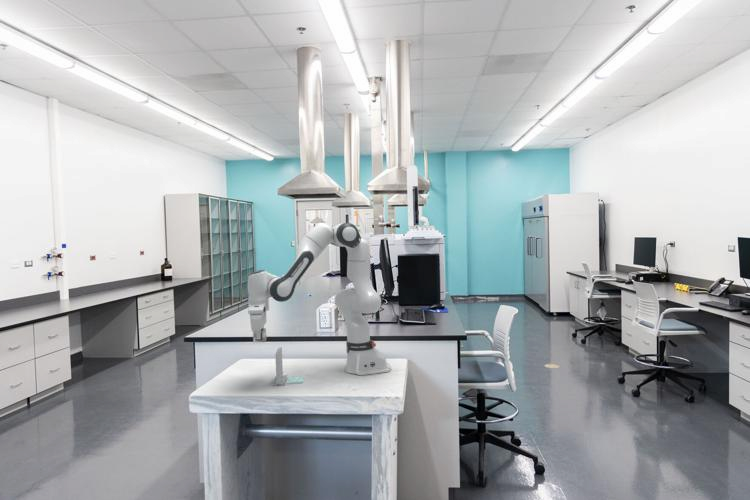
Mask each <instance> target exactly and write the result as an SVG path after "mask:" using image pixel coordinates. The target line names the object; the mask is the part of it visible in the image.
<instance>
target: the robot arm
mask: <svg viewBox="0 0 750 500" xmlns="http://www.w3.org/2000/svg"><path fill="white" fill-rule="evenodd" d="M330 244H331V245H333V246H334V247H342V248H344V247H345V249H346V252H347V260H346V261H347V262H346V265H347V266H346V277H347V279H348V280H349V281H350V282H351V283H352V285H353V288H354V289H353V288H352V289H351V288H346V289H345V288H344V289H340V290H338V291H337V292H336V294H335V296H334V297H335V298H334V304H335V306H336V308H337V309H338V310H339V311H340V312H341V314H342V317H343V319H344V322H345V325H346V343H345V346H346V353H347V354H346V363H345V368H344V372H346V373H347V374H348V373H349V374H353V375H354V374H355V375H357V376H366V375H367V376H368V375H375V374H381V373H389V372H391V371H392V366H391V363H388V362H387V359H386V356H385V355H384V354H383V352H381V351H380V350H379V349H377V348H375V347H376V345H377V344H376V343H375V341H373V340H372V339H371V336H370V335H371V334H370V333H371V332H370V331H371V330H370V327H371V326H370V324H369V322H368V321H367V320H366V319H365V317H364V316H363V314H365V315H366V314H367V315H368V314H375V313H377V312H378V311H379V310H380V309H381V307H382V299H381V295H380V294H379V293H378V292H377V291H376V290H375V289H374V286H373V283H372V280H371V250H370V244H369V242H368V240H366V239H365V238H362V236H361V235H360V231H359V230H358V228H357V226H356V225H354V224H353V223H350V222H342V223H338V224H336V225H334V226H330V225H329V224H328V223H325V222H318V223H317V224H316V225H314V226H313V227H312V228H311V229H310V230H309V231H308V232H307V233H306V234H305V235H304V236H303V238H302V239H301V240H300V242H299V243H298V245H297V247H296V259H295V261H294V262H293V264H292V265H291V266H290V268H289V269H287V272H286V273H285V274H284V275H283V276H278V275H274V274H273V273H270V272H268V271H266V270H264V269H260V270H255V271H252V272H251V273H249V275H248V277H247V293H248V300H247V305H248V310H247V311H248V312H247V313H248V315H249V319H250V328H251V331H252V333H253V332H256V337H257V340H258V339H261V329H264V328H265V324H267V312H268V311H269V310H270V301H269V299H270V298H272V299H273V300H275V301H277V302H281V303H283V302H287V301H289V300H290V299H291V298H292V296H293V294H294V292H295V289H296V287H297V285H298V283H299V281H300V280H301V278H302V277H303V275H305V273H306V271H307V270H308V269H309V267H310V266H311V265H313V263H314V262H315V261H316V260H317V259H318V258H319V257H320V256H321V254H322V253H323V252H324V251H325V250H326V248H327V247H328V246H329V245H330Z"/></svg>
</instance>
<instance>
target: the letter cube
mask: <svg viewBox="0 0 750 500" xmlns="http://www.w3.org/2000/svg"><path fill="white" fill-rule="evenodd" d="M252 339H253V344H254V343H265V342H266V341H267V328H265V327H264V329H261V339H258V340H257V337H256V332H252Z"/></svg>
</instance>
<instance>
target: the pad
mask: <svg viewBox="0 0 750 500" xmlns="http://www.w3.org/2000/svg"><path fill="white" fill-rule="evenodd" d="M303 383H304V376H295V377H293V376H292V377H287V379H286V384H287V385H292V384H293V385H294V384H303Z"/></svg>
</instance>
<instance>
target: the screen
mask: <svg viewBox="0 0 750 500" xmlns="http://www.w3.org/2000/svg"><path fill="white" fill-rule="evenodd" d="M283 366H284V365H283V347H282V346H281V347H280V346H279V347H277V350H276V352H275V376H274V379H273V381H272V387H276V386H277V387H278V386H279V387H280V386H285V384H286V382H287V378H288V377H287V375H288V374H284V368H283Z"/></svg>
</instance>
